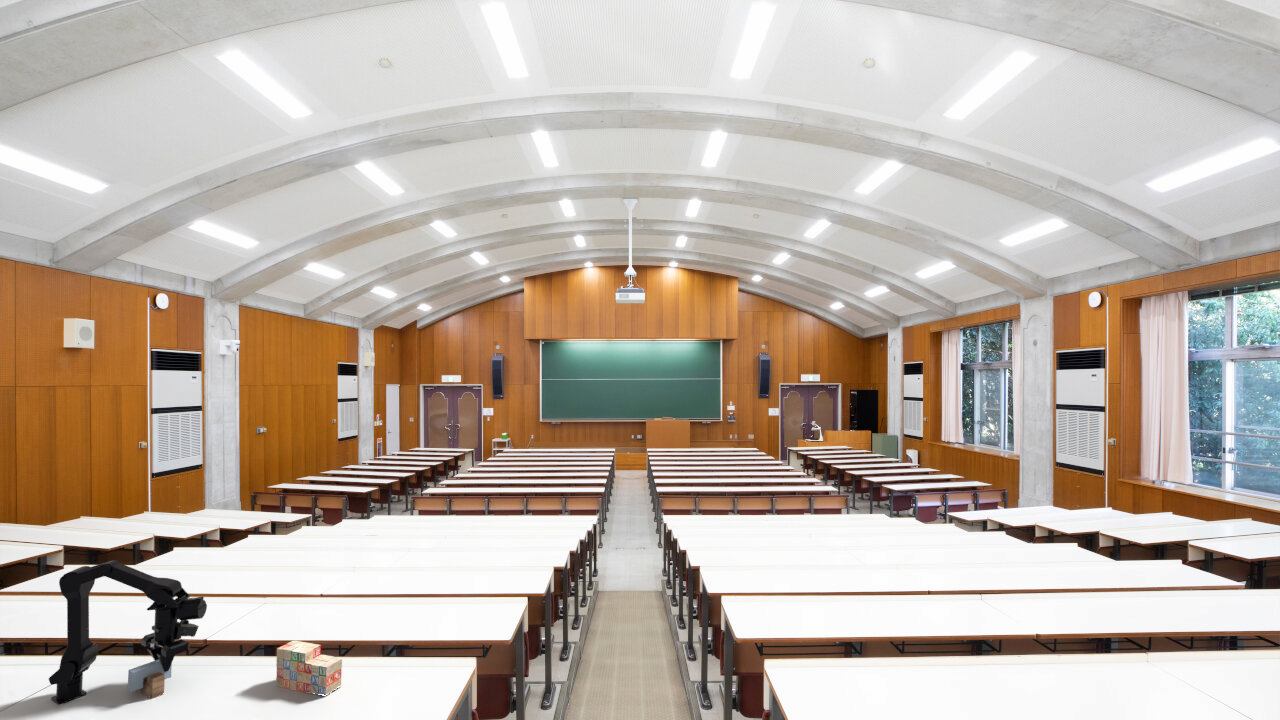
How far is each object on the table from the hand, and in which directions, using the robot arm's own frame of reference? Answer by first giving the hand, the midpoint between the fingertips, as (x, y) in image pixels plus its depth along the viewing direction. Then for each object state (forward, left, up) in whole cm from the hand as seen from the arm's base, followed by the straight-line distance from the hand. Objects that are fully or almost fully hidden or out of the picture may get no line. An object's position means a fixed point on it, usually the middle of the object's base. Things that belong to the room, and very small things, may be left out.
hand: (164, 669), depth 179 cm
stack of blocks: (+42, +22, -6) cm, 48 cm away
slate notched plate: (0, -4, -2) cm, 4 cm away
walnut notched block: (0, -4, -5) cm, 6 cm away
